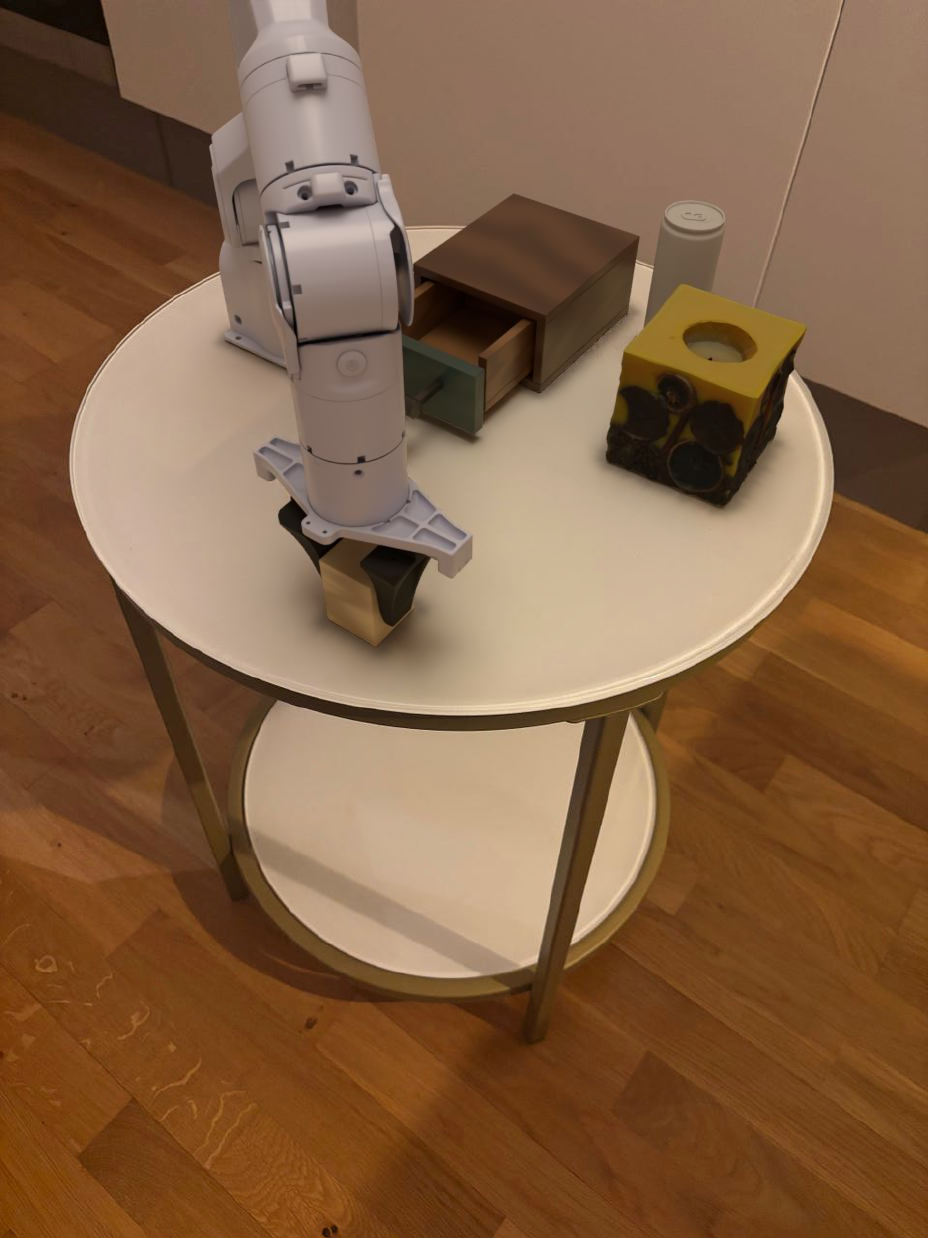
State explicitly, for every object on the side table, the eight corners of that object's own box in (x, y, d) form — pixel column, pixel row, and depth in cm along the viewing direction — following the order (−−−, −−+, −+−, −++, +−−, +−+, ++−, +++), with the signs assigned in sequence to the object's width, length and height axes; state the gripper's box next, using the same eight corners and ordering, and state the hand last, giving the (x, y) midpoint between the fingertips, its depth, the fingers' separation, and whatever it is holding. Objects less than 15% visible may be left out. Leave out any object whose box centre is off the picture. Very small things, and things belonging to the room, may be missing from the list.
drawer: (441, 465, 71) (440, 406, 67) (322, 408, 76) (315, 349, 72) (567, 351, 81) (573, 293, 77) (455, 306, 85) (456, 249, 81)
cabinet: (539, 393, 79) (546, 315, 73) (415, 340, 83) (412, 263, 78) (628, 311, 86) (640, 235, 81) (510, 267, 91) (513, 192, 86)
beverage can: (695, 371, 81) (726, 233, 71) (637, 364, 81) (660, 226, 72) (698, 338, 84) (728, 202, 75) (642, 332, 84) (665, 196, 75)
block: (327, 618, 63) (318, 559, 59) (366, 581, 65) (360, 522, 61) (375, 647, 61) (370, 588, 57) (414, 608, 64) (411, 549, 59)
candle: (657, 392, 79) (679, 279, 71) (776, 435, 75) (813, 321, 68) (599, 461, 73) (616, 347, 66) (725, 512, 70) (758, 397, 62)
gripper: (200, 417, 52) (242, 587, 63) (415, 528, 47) (422, 694, 57) (288, 354, 56) (314, 525, 66) (497, 451, 51) (490, 620, 61)
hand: (369, 599), depth 62 cm, fingers closed on block, 4 cm apart
